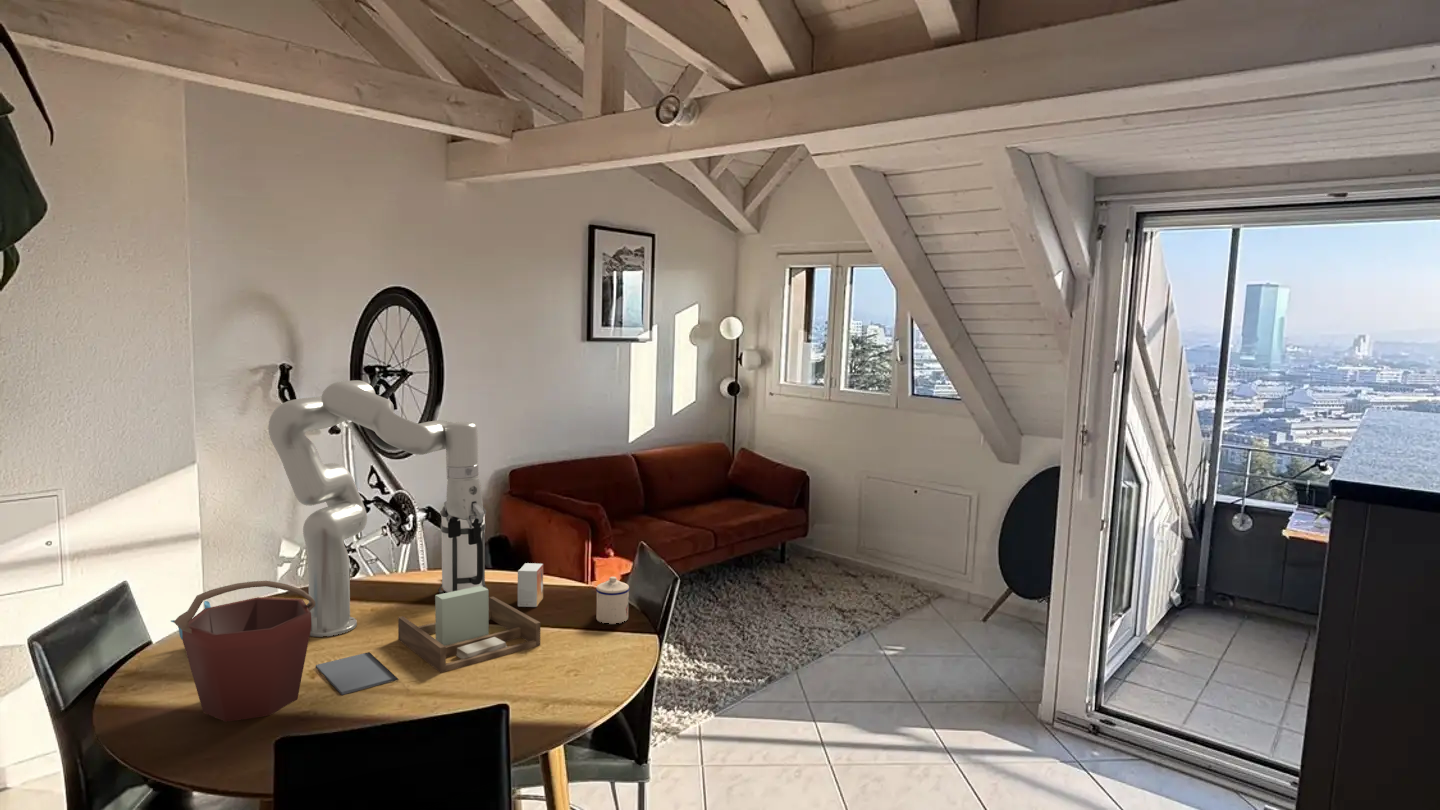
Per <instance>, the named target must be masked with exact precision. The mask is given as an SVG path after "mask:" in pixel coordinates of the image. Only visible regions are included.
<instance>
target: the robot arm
mask: <svg viewBox="0 0 1440 810" xmlns="http://www.w3.org/2000/svg"><path fill="white" fill-rule="evenodd" d="M394 410H395V407H394V404H393V402H392V401H391V400H390V399H388V398H386V397H383V396H380V395H379V394H376V391H375V388H373V386H372V385H371V384H369V383H368V382H366V381H364V380H359V379H358V380H357V379H356V380H343V381H336V382H333V383H331V384H329V385H327V387H325V389H324V390H323V392H322V394H321V395H320V396H314V397H304V398H296V399H295V398H294V399H291V400H287V401H285V402H283V403H281V404H279V405H278V406H277V407H276V408H275V409H274V410H273V412H271V415H270V417H269V421H268V425H267V427H268V429H267V430H268V435H269V439H270V441H271V443H272V445H273V446H274V449H275V451H276V453H277V455H278V457H279V458H280V461H281V463H282V466H283V468H284V472H285V473H286V474H285V475H286V476H287V479H288V480H289V483H290V486H291V488H292V491H293V493H294V496H295V498H296V499H297V500H298V502H299V503H300V504H301V505H304V506H316V505H320V504H323V503H326V505H327V506H325V507H323V508H320V509H317V510H316V511H313V512H312V513H311V514H310V515H309V516H307V518H306V520H305V521H304V522H303V528H302V532H303V533H302V534H303V540H304V543H305V547H306V553H307V554H306V555H307V574H308V575H307V579H308V580H307V581H308V594H309V595H310V596H311V597H312V598H313V599H314V600H315V602H316V604H315V607H313V608H312V609H311V610H310V612H311V631H310V636H309V637H315V638H318V637H319V638H323V636H327V637H333V635H334V636H338V634H339V635H342V633H343V634H346V633H348V631H349V632H351V631H352V630H354V629H355V628H356V627H357V625H358V624H357V623H358V620H357V619H356V618H355V617H354V616H351V599H350V598H351V589H350V586H351V585H350V584H351V583H350V582H351V581H350V557H349V552H348V550H347V548H346V546H345V543H344V541H345V540H347V539H349V538H352V537H354V536H356V535H358V534H360V533H361V532H362V531H364V529H365V528H366V527H367V523H368V514H367V510H366V507H365V505H364V504H365V503H364V501H363V500H362V497H361V495H360V491H359V489H358V487H357V485H356V483H355V482H356V481H355V480H354V478H353V476H352V474H351V472H350V471H349V470H348V469H347V468H346V467H344V466H343V465H342V464H340V463H339V464H338V463H335V462H334V463H333V462H330V463H325V464H324V463H323V461H322V459H321V457H320V453H319V451H318V448H317V447H316V446H315V444H314V443H313V442H312V441H311V440H310V439H309V438H308V437H307V436H306V433H308V432H311V431H312V432H313V431H317V430H324V429H328V428H331V427H334V426H336V425H340V424H341V423H344V422H345V421H349V422H352V423H354V424H357V425H359V426H361V427H363V428H366V429H369V430H371V431H373V432H375V434H376V436H377V437H379V438H380V439H381V440H382V441H383V442H385V443H386V444H388V445H390V446H392V447H395V448H397V449H399V450H401V451H404V452H406V453H409V454H413V455H418V456H422V455H427V454H430V453H433V452H434V453H435V452H438V451H441V450H445V461H446V463H445V464H446V479H447V480H446V481H447V482H446V483H447V484H446V501H444V502H443V507H444V506H445V510H446V511H445V513H446V515H447V522H448V537H449V538H453V537H458V536H460V535H461V525H460V520H459V518H460V519H463V520H467V522H468V525H469V527H470V528H469V529H468V544H469V545H473V544H478V543H481V527H482V523H483V517H484V511H483V506H484V504H483V503H484V501H483V492H482V487H481V482H480V481H481V480H480V478H479V477H480V476H479V473H480V472H479V446H478V445H479V441H478V436H479V435H478V426H477V425H476V424H475V423H474V422H470V421H457V422H453V421H447V420H440V419H438V420H437V419H436V420H432V421H431V420H430V421H426V422H421V423H417V422H414V421H413V420H412V421H411V420H409V419H406V418H404V417H402V416H400V415H398V414H397V413H395V411H394ZM474 519H475V520H474ZM457 520H458V521H457ZM472 520H474V522H472ZM308 603H310V601H309V600H308ZM350 630H351V631H350ZM345 632H346V633H345Z"/></svg>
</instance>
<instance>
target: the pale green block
mask: <svg viewBox="0 0 1440 810" xmlns="http://www.w3.org/2000/svg"><path fill="white" fill-rule="evenodd" d="M489 593H490V592H489V589H488V587H487V588H485V587H483V586H477V587H472V588H468V589H463V590H458V591H453V592H445V593H444V592H442V593H439V594H435V596H434V601H435V602H434V603H435V604H434V605H435V606H434V607H435V613H434V615H435V622H436V633H435V639H436V640H437V641H439V642H440V643H441V644H443V645H444V646H447V645H451V644H455V643H458V642H462V641H466V640H470V639H474V638H478V637H482V636H486V635H490V634H489V631H490V630H489V629H490V628H489V626H490V625H489V624H490V623H489V622H490V620H489V597H490V596H489Z"/></svg>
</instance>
